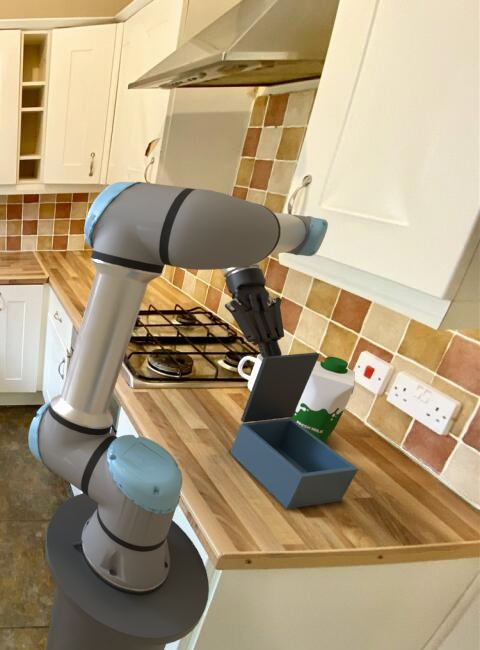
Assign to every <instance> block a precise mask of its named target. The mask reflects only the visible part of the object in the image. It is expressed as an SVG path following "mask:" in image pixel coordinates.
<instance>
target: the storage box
mask: <svg viewBox="0 0 480 650" xmlns="http://www.w3.org/2000/svg"><path fill="white" fill-rule="evenodd" d="M230 454H231V456H233V457H234V459H236V460H237V461H238V462H239V463H240V465H242V466H243V468H245V470H247V471H248V472H249V473H250V474H251V475H252V476H253V477H254V479H256V480H257V481H258V482H259V483H260V484H261V485H262V486H263V487H264V488H265V489H266V490H267V491H268V492H269V493H270V494H271V495H272V496H273V497H274V498H275V499H276V500H277V501H278V502H279V503H280V505H282V506H283V507H284V508H285V509H286V510H288V509H295V508H302V507H310V506H315V505H323V504H329V503H336V502H341V501H342V500H343V498H344V497H345V495H346V493H347V491H348V489H349V487H350V486H351V484H352V482H353V480H354V478H355V477H356V475H357V473H358V472H359V468H358V467H357V466H356V465H354V464H353V463H351V462H350V461H348V460H347V459H346V458H345V457H344V456H342V455H341V454H339V453H338V452H337V451H335V450H334V449H332V448H331V447H330V446H329V445H328V444H326V442H325V443H323V442H322V441H321V440H319V439H318V438H317V437H315V436H314V435H313V434H311V433H310V432H309V431H307V430H306V429H305V428H303V427H302V426H301V425H299V424H298V423H297V422H295V421H294V420H293V419H291V418H281V419H272V420H263V421H254V422H245V423H243V422H242V423H240V426H239V428H238V431H237V433H236V436H235V439H234V442H233V446H232V447H231V450H230Z"/></svg>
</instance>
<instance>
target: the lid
mask: <svg viewBox="0 0 480 650" xmlns="http://www.w3.org/2000/svg"><path fill="white" fill-rule="evenodd" d="M319 357H320V353H319V352H306V353H305V352H304V353H295V354H294V353H293V354H282V355H281V356H269V357H263V360H262V363H261V366H260V368H259V371H258V374H257V377H256V379H255V382H254V385H253V388H252V390H251V391H250V393H249V396H248V399H247V402H246V405H245V407H244V409H243V413H242V415H241V418H240V422H242V423H250V422H259V421H268V420H276V419H285V418H290V417H293V415H294V413H295V410H296V408H297V406H298V403H299V401H300V399H301V396H302V394H303V392H304V389H305V387H306V385H307V382H308V380H309V378H310V375H311V373H312V371H313V369H314V366H315V364H316V362H317V361H318V359H319Z"/></svg>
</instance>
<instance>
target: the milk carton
mask: <svg viewBox="0 0 480 650" xmlns="http://www.w3.org/2000/svg"><path fill="white" fill-rule="evenodd" d="M348 365H349V362H348V361H346V360H345V359H342V358H340V357H336V356H326V357H325V359H324V361H318V360H317V362H316V364H315V366H314V369H313V371H312V373H311V375H310V378H309V380H308V382H307V385H306V387H305V389H304V392H303V394H302V396H301V399H300V401H299V403H298V406H297V408H296V410H295V413H294V415H293V417H290V418H291V419H293V420H294V421H295V422H297V423H298V424H299V425H301V426H302V427H303V428H305V429H306V430H307V431H309V432H310V433H311V434H313V435H314V436H315V437H317V438H318V439H319V440H321V441H322V442H323V443H325V444H326V442H327V440H329V438H330V436H331V434H332V433H333V432H334V430H335V429H336V427H337V425H338V424H339V421H340V419H341V417H342V415H343V413H344V411H345V409H346V407H347V406H348V403H349V401H350V399H351V396H352V395H353V394H354V389H355V385H356V371H355V370H351V369H348Z"/></svg>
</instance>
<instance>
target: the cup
mask: <svg viewBox="0 0 480 650" xmlns="http://www.w3.org/2000/svg"><path fill="white" fill-rule="evenodd" d="M262 360H263V357H262V356H261V353H259V354H258V355H257V356H256V357H253V356H251V355H250V356H249V355H246V356H243V357H242V359H240V361H239V362H238V365H237V372H238V374H239V376H240V377H242V378H243V379H245V380H247V388H248V391H250V392H251V390H252V388H253V385H254V382H255V379H256V377H257V374H258V371H259V368H260V366H261V363H262ZM247 361H250V362H252V363H254V365H253V367H252V371H251V372H250V375H248V374H246V373H245V372H244V370H243V366H244V364H245V363H246V362H247Z"/></svg>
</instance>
